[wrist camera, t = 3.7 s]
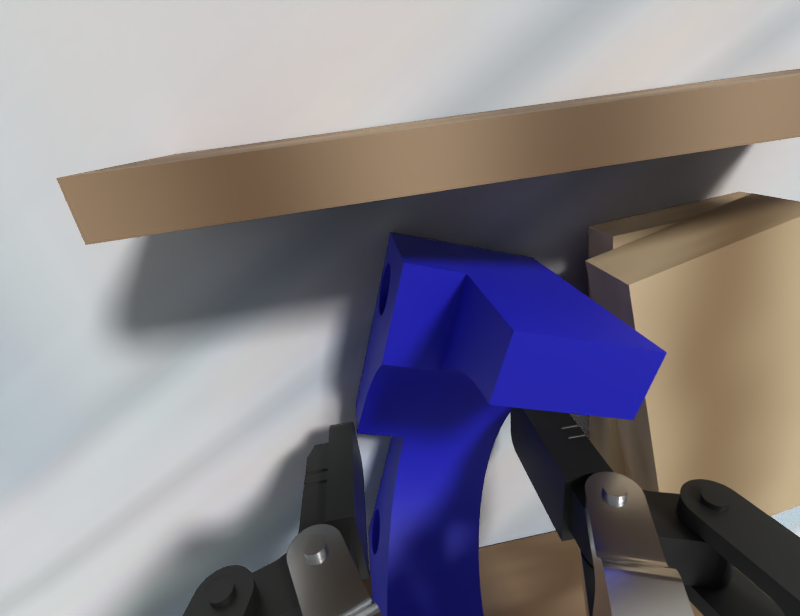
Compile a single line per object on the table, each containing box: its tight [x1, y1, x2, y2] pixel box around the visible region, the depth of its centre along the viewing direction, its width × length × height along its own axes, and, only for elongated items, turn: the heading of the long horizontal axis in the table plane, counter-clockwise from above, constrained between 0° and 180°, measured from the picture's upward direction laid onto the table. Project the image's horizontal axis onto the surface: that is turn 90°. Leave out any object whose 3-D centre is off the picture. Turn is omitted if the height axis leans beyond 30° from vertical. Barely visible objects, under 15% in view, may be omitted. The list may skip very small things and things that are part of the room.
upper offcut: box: [585, 193, 800, 516], centre depth 13 cm, size 5×11×2 cm, turn 21°
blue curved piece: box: [356, 232, 667, 616], centre depth 12 cm, size 12×4×6 cm, turn 168°
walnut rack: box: [57, 69, 800, 616], centre depth 13 cm, size 17×18×5 cm
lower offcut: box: [589, 192, 750, 477], centre depth 15 cm, size 5×11×2 cm, turn 11°
